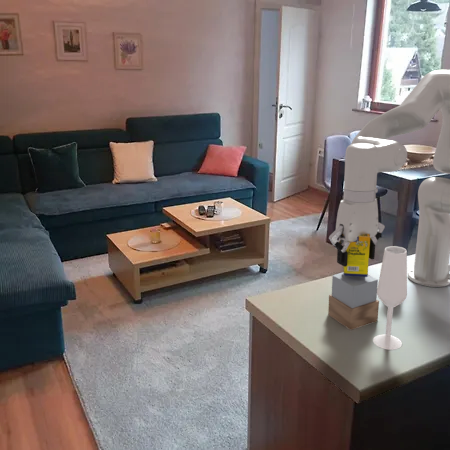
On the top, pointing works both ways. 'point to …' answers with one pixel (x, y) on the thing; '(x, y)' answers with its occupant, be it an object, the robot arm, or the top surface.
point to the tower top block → (354, 289)
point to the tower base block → (353, 313)
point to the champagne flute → (392, 291)
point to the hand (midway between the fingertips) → (355, 260)
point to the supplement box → (358, 257)
